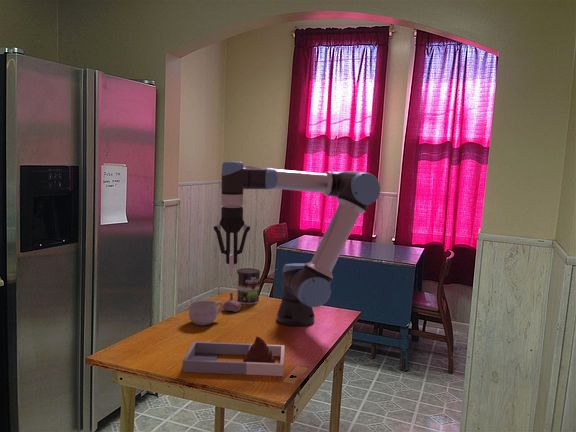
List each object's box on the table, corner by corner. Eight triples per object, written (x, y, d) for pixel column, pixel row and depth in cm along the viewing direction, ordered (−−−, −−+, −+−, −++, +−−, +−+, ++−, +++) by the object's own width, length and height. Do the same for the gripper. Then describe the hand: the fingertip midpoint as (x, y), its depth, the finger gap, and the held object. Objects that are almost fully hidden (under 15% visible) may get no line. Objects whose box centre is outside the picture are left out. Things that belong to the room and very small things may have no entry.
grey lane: (182, 371, 153) (182, 360, 153) (193, 351, 169) (193, 341, 169) (246, 374, 153) (246, 363, 152) (250, 354, 169) (251, 343, 168)
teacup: (191, 328, 191) (192, 308, 190) (185, 320, 201) (185, 300, 200) (227, 325, 196) (228, 305, 196) (219, 316, 206) (220, 297, 205)
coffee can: (263, 302, 228) (264, 271, 226) (242, 305, 223) (243, 274, 221) (252, 297, 237) (253, 267, 235) (232, 299, 231) (232, 269, 230)
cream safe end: (246, 374, 153) (246, 363, 152) (250, 354, 169) (251, 343, 168) (282, 376, 153) (283, 364, 152) (284, 355, 169) (284, 345, 168)
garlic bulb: (219, 310, 215) (219, 291, 214) (233, 307, 220) (233, 289, 219) (230, 314, 210) (230, 295, 209) (244, 311, 215) (244, 293, 214)
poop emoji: (245, 372, 155) (246, 342, 154) (240, 361, 163) (241, 332, 162) (277, 369, 158) (278, 340, 157) (271, 358, 166) (271, 330, 165)
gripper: (251, 205, 181) (250, 270, 184) (214, 204, 181) (214, 270, 184) (250, 207, 174) (249, 275, 176) (212, 207, 173) (211, 275, 176)
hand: (231, 272), depth 180 cm, fingers closed
